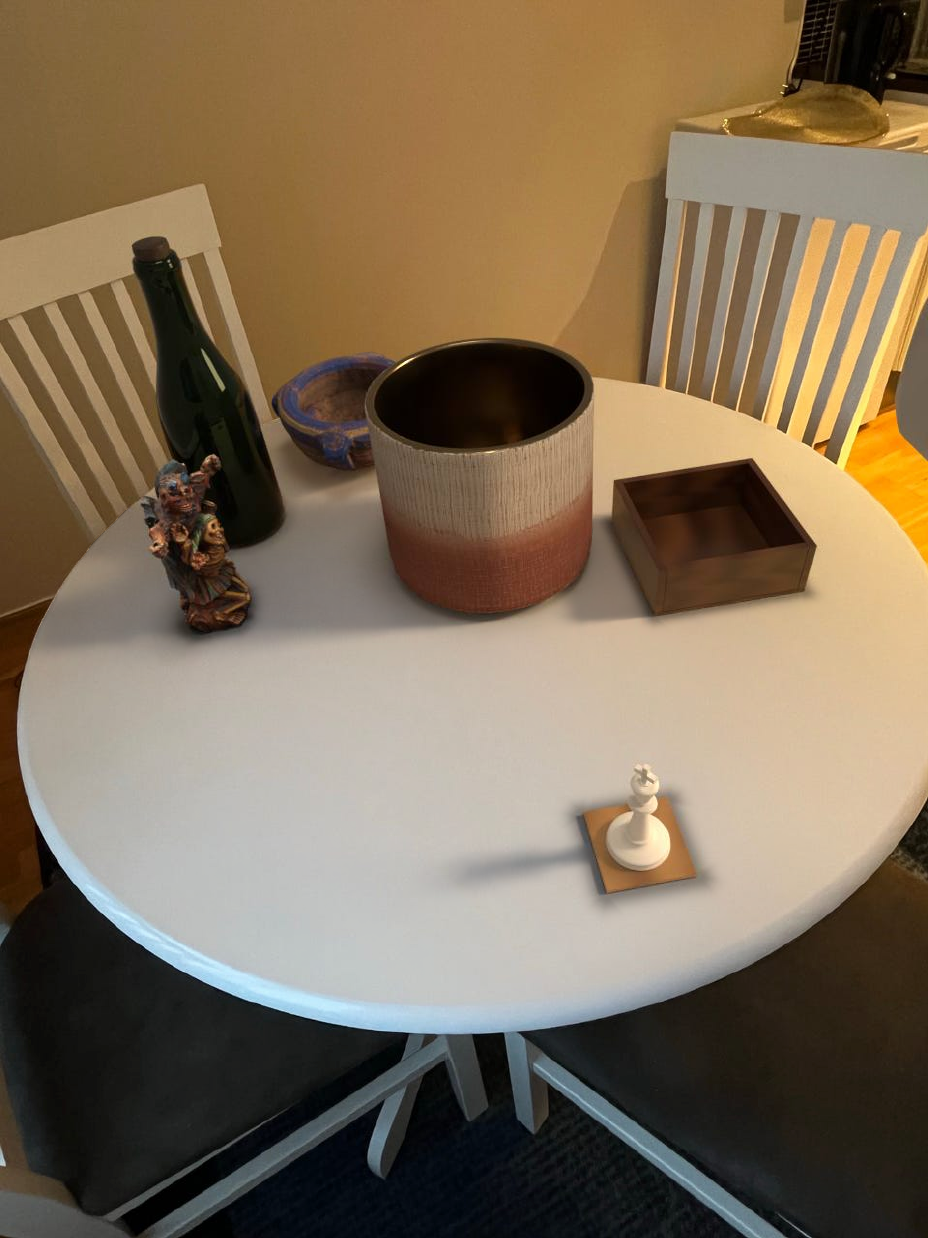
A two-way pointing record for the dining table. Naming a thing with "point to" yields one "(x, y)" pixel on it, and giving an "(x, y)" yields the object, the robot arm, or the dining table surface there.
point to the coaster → (624, 878)
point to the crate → (710, 536)
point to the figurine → (195, 548)
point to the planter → (485, 471)
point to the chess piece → (639, 827)
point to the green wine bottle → (206, 402)
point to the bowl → (331, 410)
